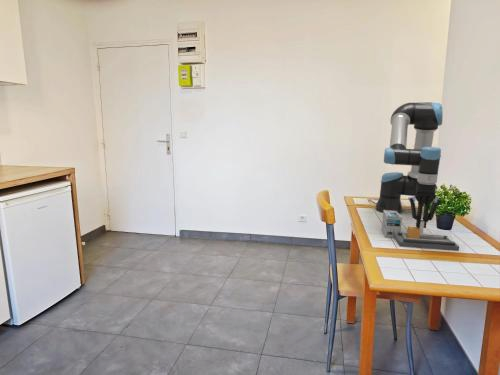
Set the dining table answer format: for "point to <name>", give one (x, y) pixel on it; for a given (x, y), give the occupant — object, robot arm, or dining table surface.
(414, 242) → the panel
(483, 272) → the dining table surface
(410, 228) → the slider block
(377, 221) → the dining table surface
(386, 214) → the light bulb box
